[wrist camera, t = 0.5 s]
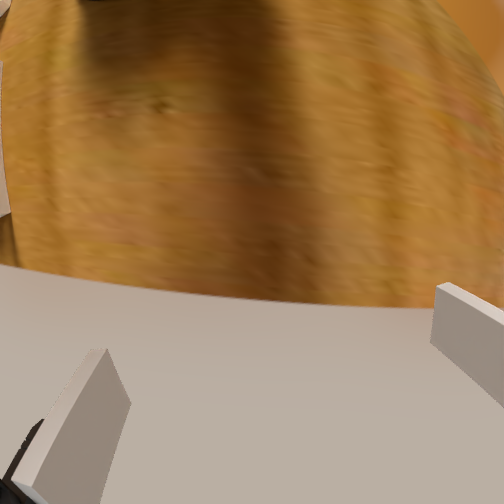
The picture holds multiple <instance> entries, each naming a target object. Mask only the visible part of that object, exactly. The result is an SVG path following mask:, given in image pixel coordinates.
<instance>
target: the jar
mask: <svg viewBox="0 0 504 504" xmlns="http://www.w3.org/2000/svg"><path fill="white" fill-rule="evenodd" d="M10 4H11V0H0V17H1V16H2V15H3V14H4V13H5V11H6V10H7V9H8V8H9V7H10Z"/></svg>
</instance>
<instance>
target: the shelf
mask: <svg viewBox="0 0 504 504" xmlns="http://www.w3.org/2000/svg"><path fill="white" fill-rule="evenodd" d="M2 69H3V62H2V61H0V217H2V216H4V215H6V214H8V213H11V210H10V204H9V199H8V193H7V186H6V179H5V171H4V162H3V151H2V136H1V84H2Z"/></svg>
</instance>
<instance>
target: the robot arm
mask: <svg viewBox="0 0 504 504" xmlns="http://www.w3.org/2000/svg"><path fill="white" fill-rule="evenodd" d="M92 1H97V0H92ZM430 343H431V344H432V345H434V346H435V347H436V348H437V349H438V350H439V351H441V352H442V353H443V354H444V355H445V356H446V357H448V358H449V359H450V360H451V361H452V362H453V363H455V364H456V365H457V366H458V367H459V368H460V369H461V370H462V371H464V372H465V373H466V374H467V375H468V376H469V377H470V378H472V379H473V380H474V381H475V382H476V383H477V384H478V385H480V387H482V388H483V389H484V390H485V391H486V392H487V393H488V394H489V395H490V396H491V397H493V398H494V399H495V400H496V401H497V402H498V403H499V404H500V405H501V406H502V407H503V408H504V311H502V310H500V309H498V308H497V307H495V306H493V305H491V304H489V303H488V302H486V301H484V300H482V299H480V298H478V297H476V296H475V295H473V294H471V293H469V292H467V291H465V290H463V289H461V288H459V287H457V286H455V285H453V284H452V283H450V282H447V283H444V284H441V285H438V286H436V294H435V305H434V315H433V324H432V331H431V339H430ZM130 406H131V402H130V399H129V397H128V395H127V393H126V391H125V389H124V387H123V385H122V382H121V380H120V378H119V376H118V373H117V371H116V369H115V366H114V364H113V362H112V359H111V357H110V354H109V352H108V349H95V350H94V349H93V350H90V351H89V353H88V354H87V356H86V357H85V359H84V360H83V362H82V363H81V365H80V366H79V367H78V369H77V370H76V372H75V373H74V375H73V376H72V378H71V379H70V381H69V382H68V384H67V385H66V387H65V388H64V390H63V391H62V393H61V394H60V396H59V397H58V399H57V401H56V402H55V404H54V405H53V407H52V409H51V410H50V412H49V413H48V415H47V416H46V418H45V419H41V420H40V421H39V422H38V423H37V424H36V425H35V426H33V427H32V429H31V430H30V432H29V434H28V435H27V437H26V441H24V442H23V443H22V445H21V449H19V450H18V452H17V454H16V455H15V457H14V459H13V461H12V463H11V464H10V466H9V468H8V470H7V472H6V473H5V475H4V477H3V479H2V480H1V479H0V504H100V501H101V497H102V493H103V490H104V487H105V483H106V480H107V476H108V473H109V470H110V466H111V463H112V460H113V457H114V454H115V450H116V447H117V444H118V441H119V438H120V435H121V432H122V429H123V426H124V423H125V420H126V417H127V414H128V412H129V409H130Z"/></svg>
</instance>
